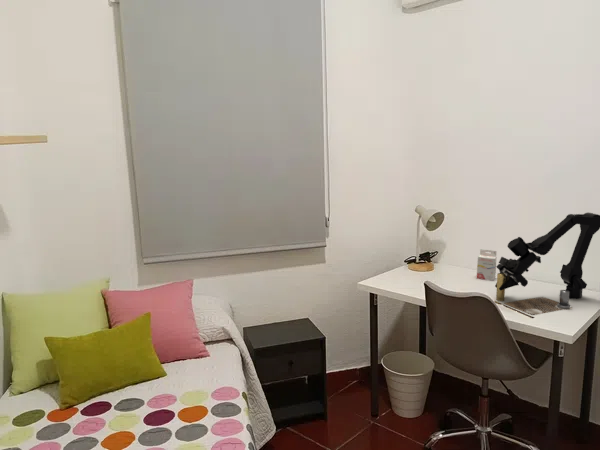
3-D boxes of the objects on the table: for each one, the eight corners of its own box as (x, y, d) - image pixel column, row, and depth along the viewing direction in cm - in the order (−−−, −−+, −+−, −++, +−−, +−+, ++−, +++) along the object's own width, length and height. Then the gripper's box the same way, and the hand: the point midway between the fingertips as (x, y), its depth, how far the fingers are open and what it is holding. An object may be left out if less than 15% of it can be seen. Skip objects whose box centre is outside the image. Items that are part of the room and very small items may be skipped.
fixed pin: (563, 304, 208) (564, 288, 207) (572, 308, 204) (574, 292, 202) (554, 306, 206) (555, 290, 205) (564, 309, 202) (565, 293, 201)
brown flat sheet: (542, 299, 219) (542, 296, 219) (575, 311, 203) (575, 308, 203) (503, 305, 212) (503, 303, 212) (534, 319, 196) (534, 316, 196)
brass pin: (500, 300, 219) (501, 272, 217) (508, 303, 215) (509, 274, 212) (491, 301, 218) (493, 273, 215) (499, 304, 213) (501, 276, 211)
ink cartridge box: (476, 278, 253) (477, 250, 250) (478, 276, 257) (479, 248, 254) (493, 280, 248) (495, 252, 246) (495, 278, 252) (497, 250, 250)
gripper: (501, 246, 221) (476, 270, 223) (522, 256, 203) (495, 282, 204) (517, 262, 223) (492, 286, 225) (539, 273, 205) (512, 299, 206)
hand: (497, 288), depth 215 cm, fingers closed on brass pin, 3 cm apart
